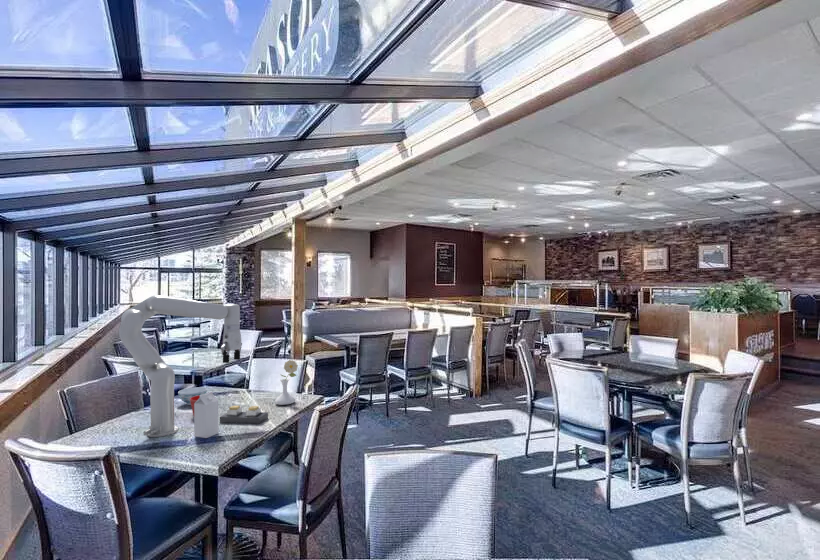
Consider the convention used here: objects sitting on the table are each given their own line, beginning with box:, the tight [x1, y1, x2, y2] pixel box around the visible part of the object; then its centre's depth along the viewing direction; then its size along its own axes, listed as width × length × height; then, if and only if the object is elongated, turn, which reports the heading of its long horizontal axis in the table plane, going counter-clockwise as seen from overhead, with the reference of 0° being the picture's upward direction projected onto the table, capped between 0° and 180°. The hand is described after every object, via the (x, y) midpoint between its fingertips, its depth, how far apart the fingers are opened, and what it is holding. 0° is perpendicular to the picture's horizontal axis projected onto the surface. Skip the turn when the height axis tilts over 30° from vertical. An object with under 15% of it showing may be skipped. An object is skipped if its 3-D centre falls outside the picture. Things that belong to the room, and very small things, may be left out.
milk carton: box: [193, 391, 220, 439], centre depth 192 cm, size 7×7×19 cm
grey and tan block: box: [245, 405, 262, 417], centre depth 211 cm, size 5×5×7 cm
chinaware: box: [177, 386, 208, 406], centre depth 245 cm, size 15×15×8 cm
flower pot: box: [190, 395, 200, 417], centre depth 222 cm, size 11×11×10 cm
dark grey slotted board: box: [219, 411, 269, 425], centre depth 212 cm, size 9×21×3 cm, turn 82°
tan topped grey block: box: [226, 405, 243, 416], centre depth 213 cm, size 5×5×7 cm
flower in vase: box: [274, 359, 299, 406], centre depth 242 cm, size 13×11×25 cm
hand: (231, 361), depth 217 cm, fingers open, 9 cm apart
